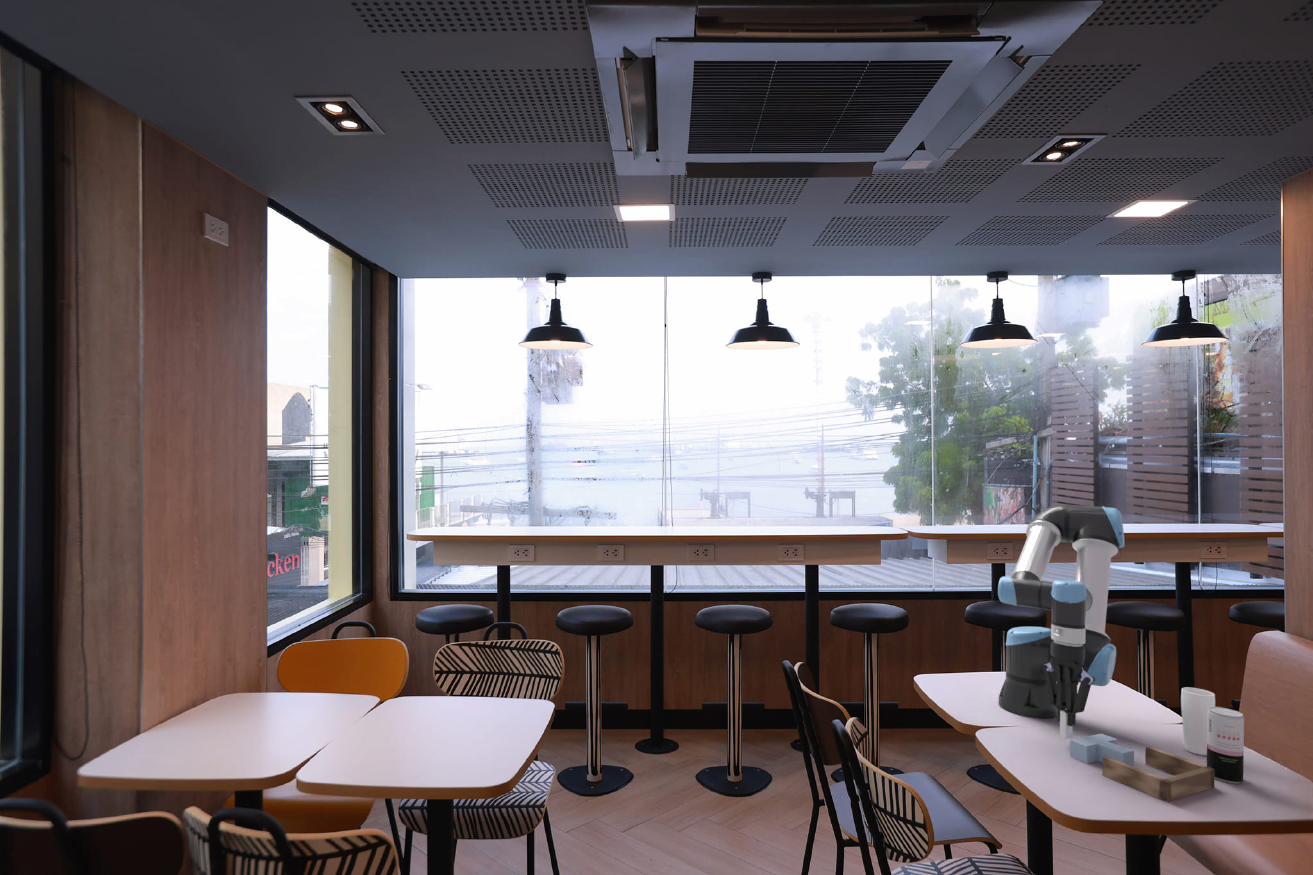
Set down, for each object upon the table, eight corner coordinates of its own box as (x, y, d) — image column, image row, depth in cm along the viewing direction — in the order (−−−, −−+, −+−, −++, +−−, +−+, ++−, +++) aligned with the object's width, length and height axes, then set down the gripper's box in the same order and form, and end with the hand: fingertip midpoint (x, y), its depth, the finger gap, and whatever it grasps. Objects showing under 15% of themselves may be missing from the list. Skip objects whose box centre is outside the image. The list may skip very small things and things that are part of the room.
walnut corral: (1102, 774, 159) (1102, 757, 159) (1149, 762, 167) (1149, 745, 167) (1167, 801, 147) (1167, 782, 147) (1214, 787, 155) (1214, 769, 155)
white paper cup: (1220, 759, 171) (1221, 697, 172) (1189, 755, 172) (1190, 694, 173) (1205, 748, 178) (1205, 688, 178) (1174, 745, 179) (1175, 685, 180)
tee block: (1070, 756, 169) (1070, 740, 169) (1101, 749, 174) (1101, 733, 175) (1112, 773, 160) (1112, 755, 160) (1143, 765, 165) (1143, 748, 166)
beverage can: (1205, 768, 165) (1206, 704, 166) (1241, 776, 161) (1242, 710, 162) (1207, 778, 160) (1208, 711, 160) (1244, 786, 156) (1245, 718, 156)
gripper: (1034, 637, 181) (1032, 729, 180) (1083, 650, 170) (1081, 749, 169) (1053, 635, 185) (1051, 726, 184) (1103, 648, 173) (1101, 745, 172)
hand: (1066, 737), depth 176 cm, fingers closed
